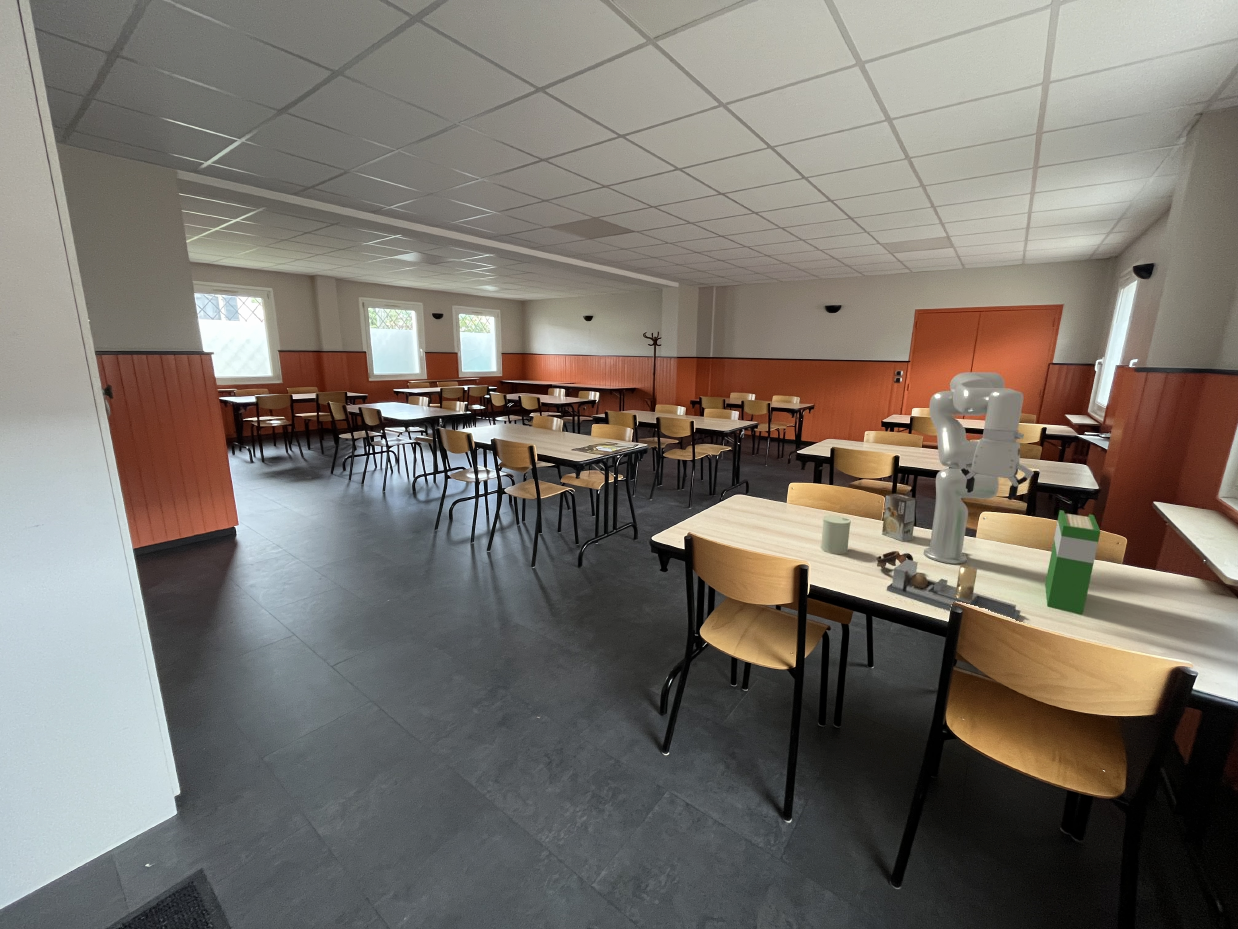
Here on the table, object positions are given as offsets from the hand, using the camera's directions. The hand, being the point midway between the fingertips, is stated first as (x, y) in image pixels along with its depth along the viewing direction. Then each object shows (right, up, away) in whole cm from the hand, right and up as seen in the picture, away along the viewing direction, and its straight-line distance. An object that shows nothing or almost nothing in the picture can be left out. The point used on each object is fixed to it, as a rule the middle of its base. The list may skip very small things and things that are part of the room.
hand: (989, 495), depth 143 cm
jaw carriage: (-10, -29, +1) cm, 31 cm away
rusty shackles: (-15, -27, +21) cm, 37 cm away
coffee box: (+3, -20, +53) cm, 57 cm away
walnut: (-16, -26, +7) cm, 31 cm away
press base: (-10, -31, +2) cm, 32 cm away
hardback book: (+24, -30, +4) cm, 39 cm away
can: (-27, -22, +41) cm, 54 cm away
